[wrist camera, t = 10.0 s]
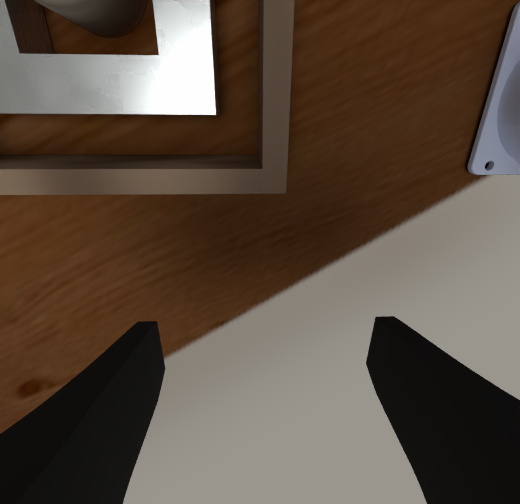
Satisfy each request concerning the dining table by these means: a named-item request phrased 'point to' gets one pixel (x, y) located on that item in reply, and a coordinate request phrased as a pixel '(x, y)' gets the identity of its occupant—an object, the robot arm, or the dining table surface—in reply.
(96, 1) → the peg
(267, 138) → the box
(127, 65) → the bore plate
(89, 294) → the dining table surface
